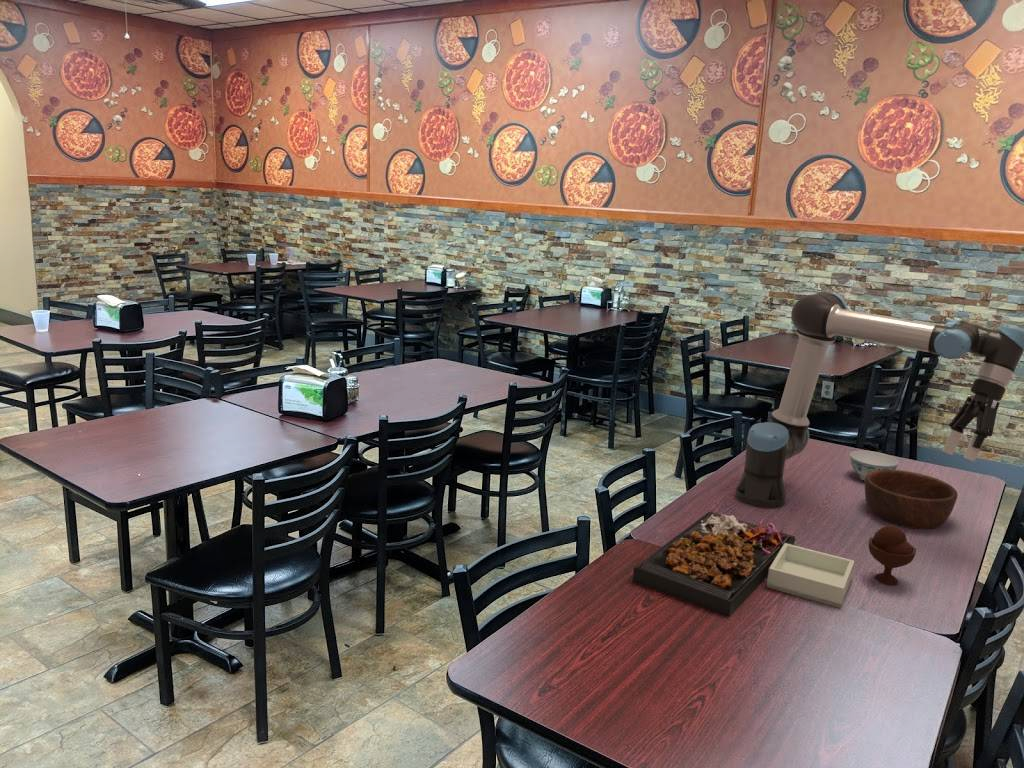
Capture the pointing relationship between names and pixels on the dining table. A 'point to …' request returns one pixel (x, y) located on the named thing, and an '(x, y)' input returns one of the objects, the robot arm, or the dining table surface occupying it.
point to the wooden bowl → (909, 498)
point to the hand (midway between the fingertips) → (957, 456)
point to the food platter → (714, 562)
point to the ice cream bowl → (890, 552)
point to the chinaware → (871, 462)
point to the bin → (811, 574)
